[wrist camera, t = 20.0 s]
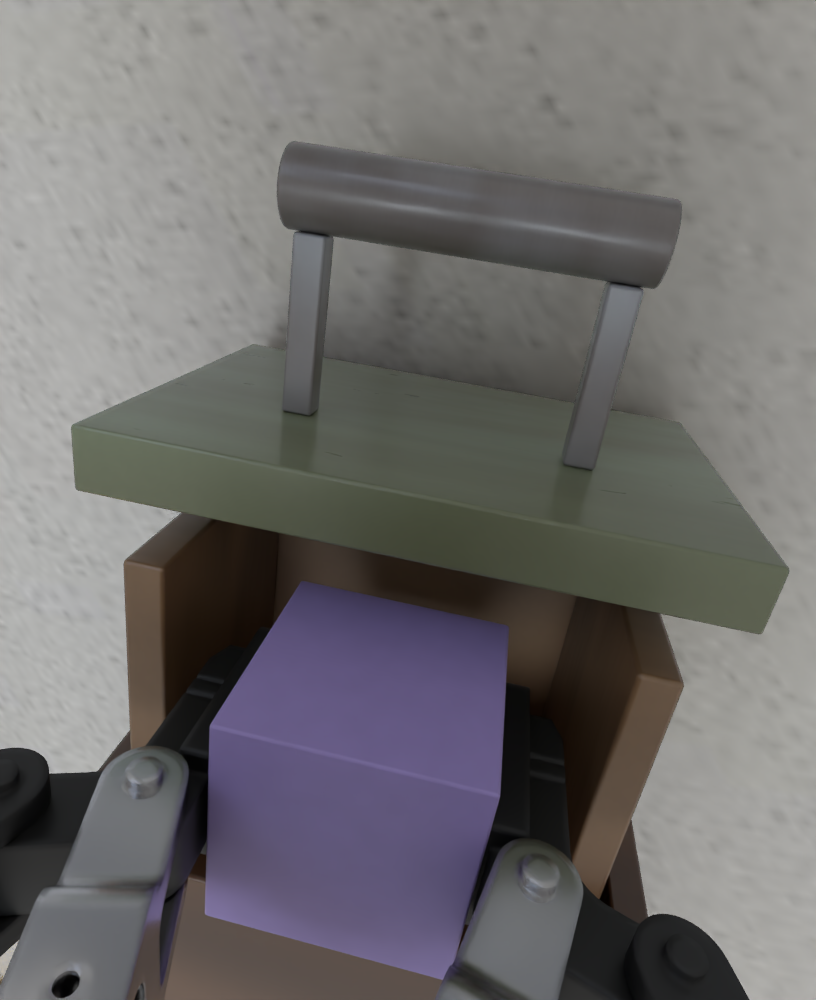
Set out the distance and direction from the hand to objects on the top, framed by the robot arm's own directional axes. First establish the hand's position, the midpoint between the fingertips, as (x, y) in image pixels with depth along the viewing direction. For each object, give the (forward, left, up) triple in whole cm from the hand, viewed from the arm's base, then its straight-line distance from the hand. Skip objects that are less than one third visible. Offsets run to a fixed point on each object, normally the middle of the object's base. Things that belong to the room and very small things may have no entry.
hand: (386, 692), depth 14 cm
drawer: (-1, 0, -6) cm, 6 cm away
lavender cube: (0, 0, 0) cm, 0 cm away
